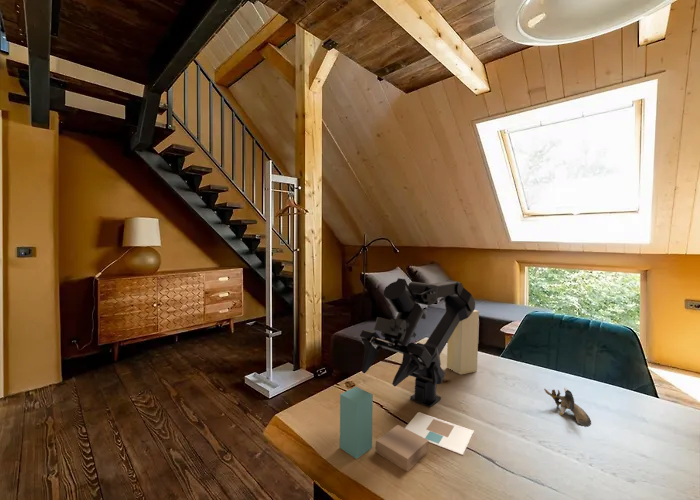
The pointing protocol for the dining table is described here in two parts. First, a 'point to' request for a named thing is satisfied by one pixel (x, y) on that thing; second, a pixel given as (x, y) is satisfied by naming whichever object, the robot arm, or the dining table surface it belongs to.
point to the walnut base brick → (402, 447)
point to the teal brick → (356, 421)
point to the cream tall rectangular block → (464, 345)
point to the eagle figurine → (570, 406)
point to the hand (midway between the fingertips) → (377, 378)
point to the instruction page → (441, 432)
